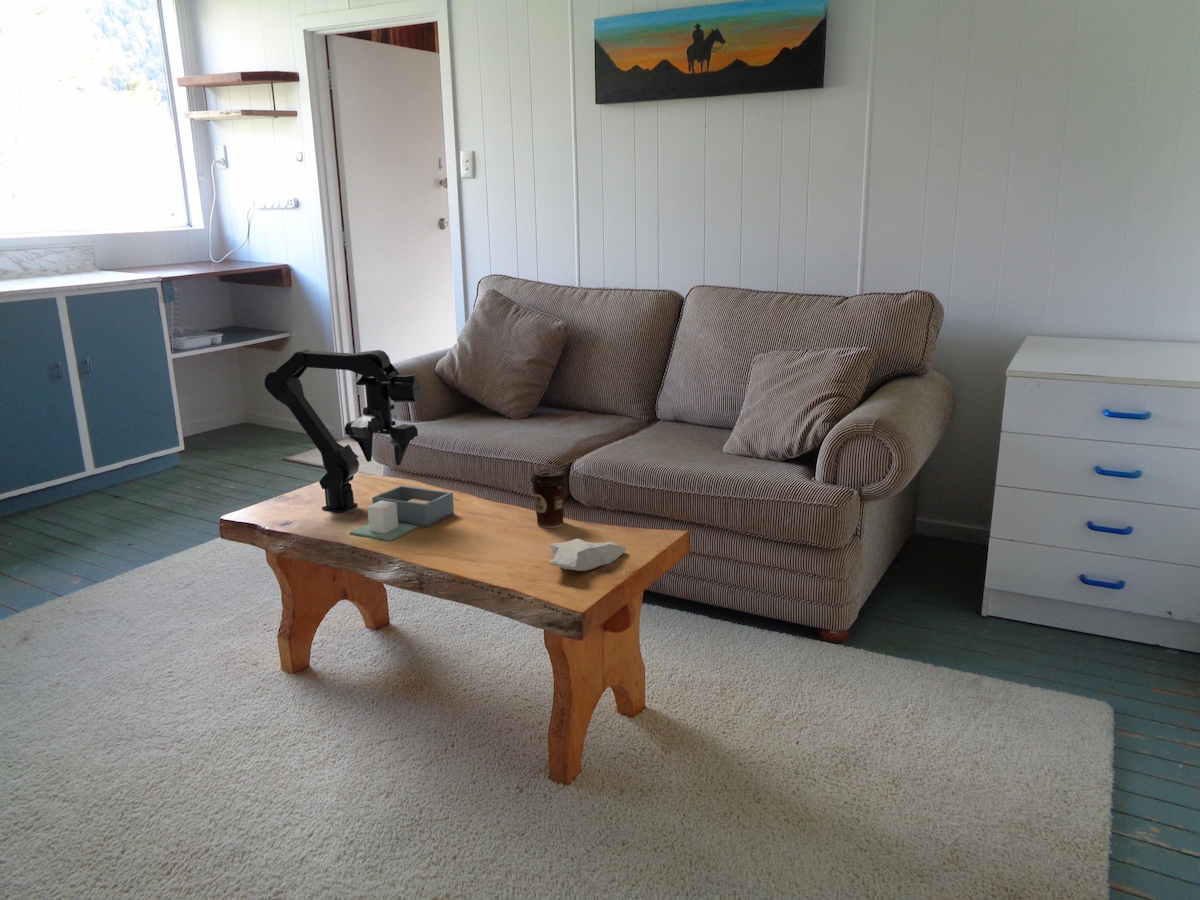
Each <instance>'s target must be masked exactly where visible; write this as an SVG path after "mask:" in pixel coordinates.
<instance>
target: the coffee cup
mask: <svg viewBox="0 0 1200 900" xmlns="http://www.w3.org/2000/svg"><path fill="white" fill-rule="evenodd" d="M529 482H530V483H531V484H532V495H533V496H532V498H533V502H534V511H535V515H536V520H537V521H536V522H537V524H536V525H537V526H539V527H541V528H545V529H546V528H547V529H554V528H555V529H557V528H560V527H563V525H564V523H565V521H564V518H565V517H564V516H565V503H566V500H565V497H566V489H567V486H566V485H567V483H568V477H567V476H566V475H565V472H564V471H563V470H560V469H551V468H542V469H536V470H535V471H534V472H533V473H532V476H531V477H530V479H529Z"/></svg>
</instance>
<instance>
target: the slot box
mask: <svg viewBox="0 0 1200 900" xmlns="http://www.w3.org/2000/svg"><path fill="white" fill-rule="evenodd" d="M381 500H382V501H389V502H395V503H396V504H397V517H398V523H405V524H411V525H417V526H418V527H423V528H429V527H431V526H433V525H435V524H437V523H438V522H441V521H442V520H445V519H447V518H448V517H450V516H452V515H454V514H455V512H454V511H455V509H454V493H453V492H450V491H444V490H436V489H429V488H422V487H415V486H408V485H399V486H397V487H394V488H392V489H388V490H386V491H384V492H382V493H380V494H378V495H377V494H376V495H375V496H372V504H374V503H376V502H379V501H381Z"/></svg>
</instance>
